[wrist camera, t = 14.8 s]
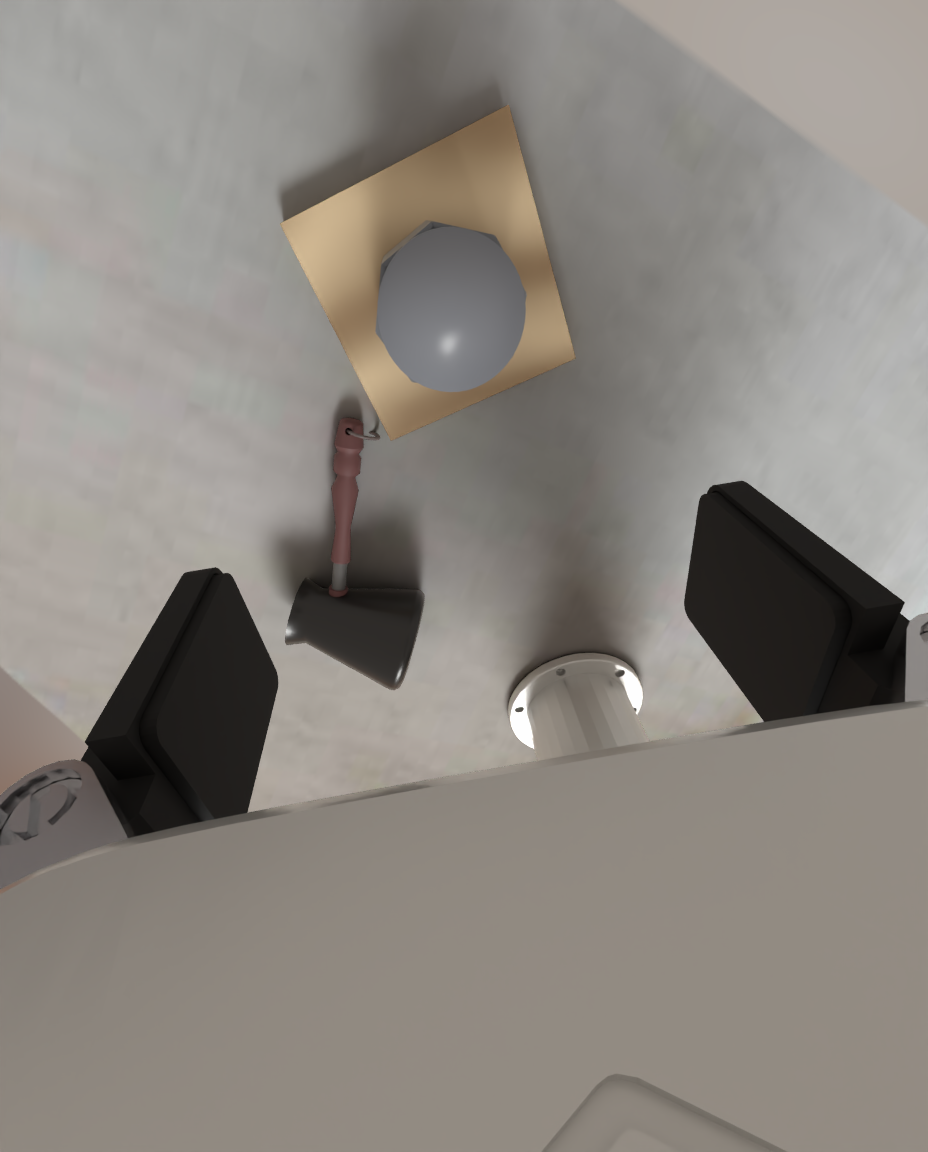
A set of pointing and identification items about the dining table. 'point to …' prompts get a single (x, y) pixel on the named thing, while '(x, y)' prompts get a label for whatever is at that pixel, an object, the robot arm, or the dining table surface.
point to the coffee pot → (355, 591)
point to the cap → (450, 307)
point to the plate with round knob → (388, 215)
